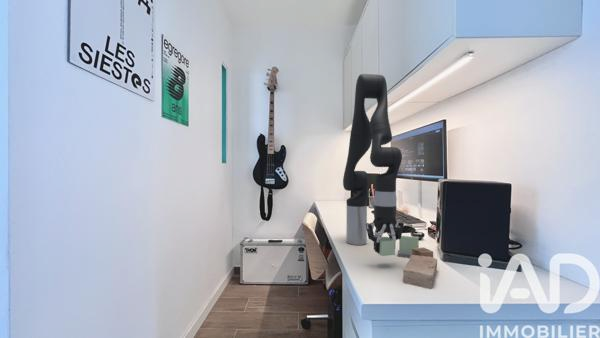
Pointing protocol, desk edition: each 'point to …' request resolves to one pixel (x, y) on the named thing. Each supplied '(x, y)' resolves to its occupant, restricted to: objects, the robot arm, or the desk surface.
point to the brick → (420, 271)
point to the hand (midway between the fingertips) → (384, 251)
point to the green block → (387, 246)
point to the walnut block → (422, 252)
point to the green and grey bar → (407, 245)
